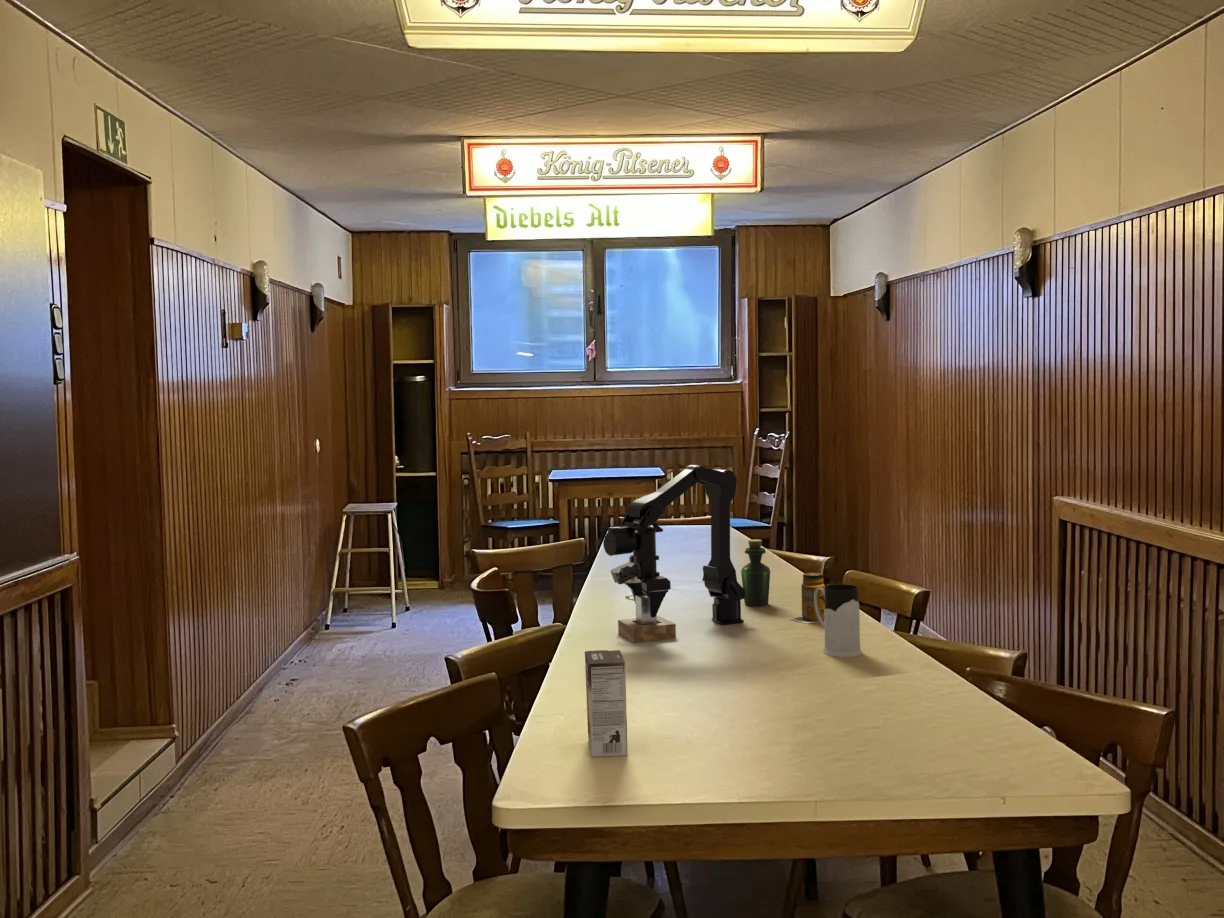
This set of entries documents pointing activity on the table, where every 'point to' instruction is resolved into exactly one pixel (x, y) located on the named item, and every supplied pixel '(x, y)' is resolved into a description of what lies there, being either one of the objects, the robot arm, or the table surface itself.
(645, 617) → the grey long rectangular block
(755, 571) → the potion bottle
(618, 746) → the coffee box
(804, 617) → the condiment
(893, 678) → the table surface
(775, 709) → the table surface
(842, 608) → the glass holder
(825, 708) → the table surface
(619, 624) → the block
